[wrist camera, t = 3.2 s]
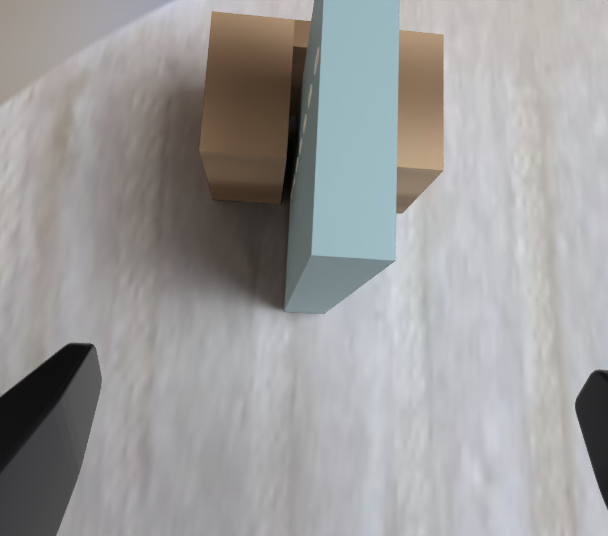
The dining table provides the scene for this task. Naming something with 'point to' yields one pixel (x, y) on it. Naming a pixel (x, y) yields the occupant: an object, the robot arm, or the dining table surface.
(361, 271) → the pale blue slab box
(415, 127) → the clip block
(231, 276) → the dining table surface
